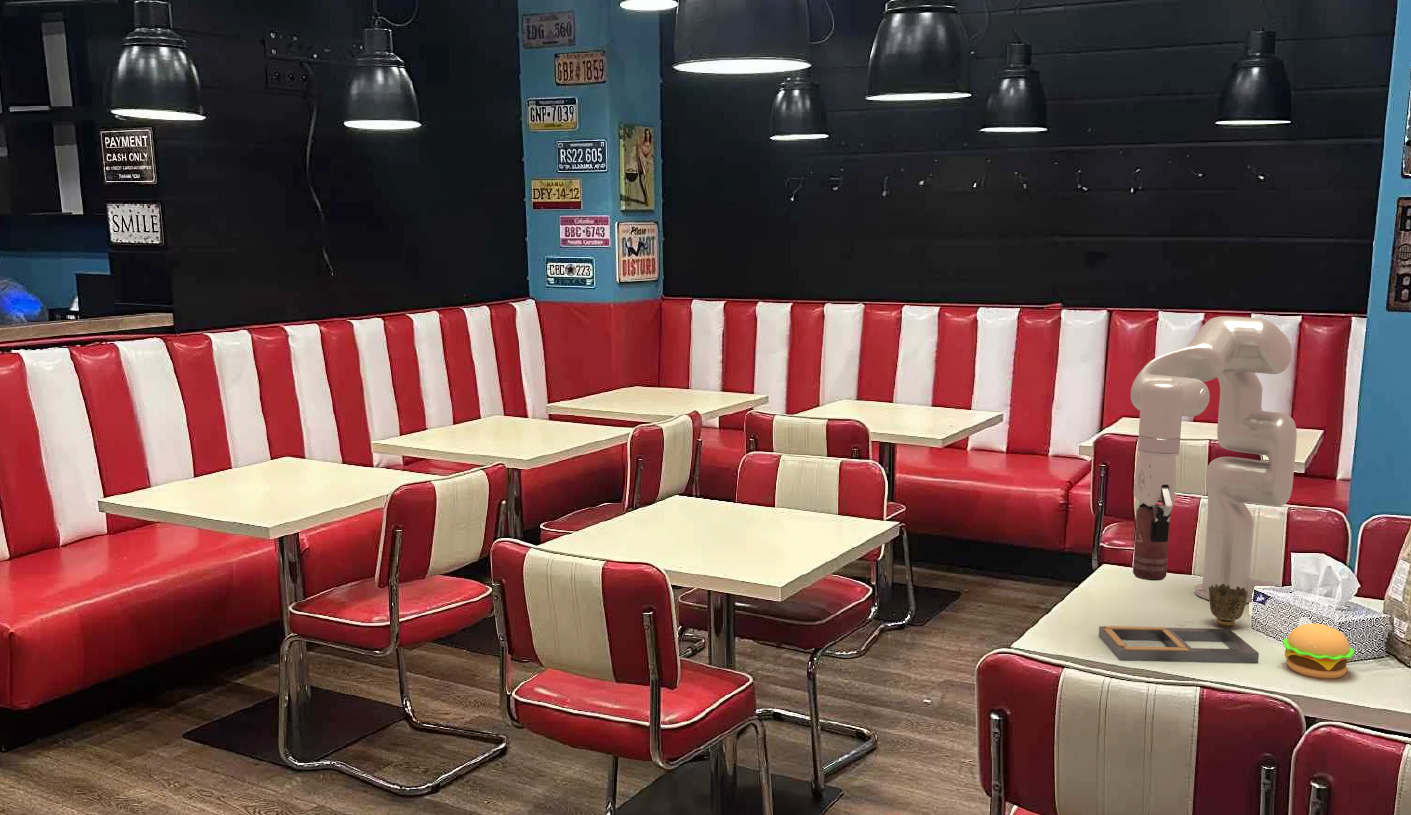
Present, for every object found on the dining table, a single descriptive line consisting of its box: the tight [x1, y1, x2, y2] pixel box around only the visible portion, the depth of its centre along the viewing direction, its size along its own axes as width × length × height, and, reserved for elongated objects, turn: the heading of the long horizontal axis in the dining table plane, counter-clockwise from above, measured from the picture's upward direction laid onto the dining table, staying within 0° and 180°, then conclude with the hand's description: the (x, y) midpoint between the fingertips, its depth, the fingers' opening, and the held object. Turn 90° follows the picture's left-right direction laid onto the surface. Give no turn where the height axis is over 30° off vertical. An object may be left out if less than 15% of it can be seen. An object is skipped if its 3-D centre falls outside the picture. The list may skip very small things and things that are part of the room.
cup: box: [1208, 584, 1248, 629], centre depth 253 cm, size 8×7×8 cm
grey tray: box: [1098, 625, 1260, 664], centre depth 239 cm, size 26×14×2 cm, turn 88°
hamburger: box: [1282, 622, 1355, 680], centre depth 228 cm, size 12×12×9 cm
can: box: [1132, 504, 1172, 582], centre depth 236 cm, size 6×6×14 cm
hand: (1152, 536), depth 235 cm, fingers closed on can, 6 cm apart
